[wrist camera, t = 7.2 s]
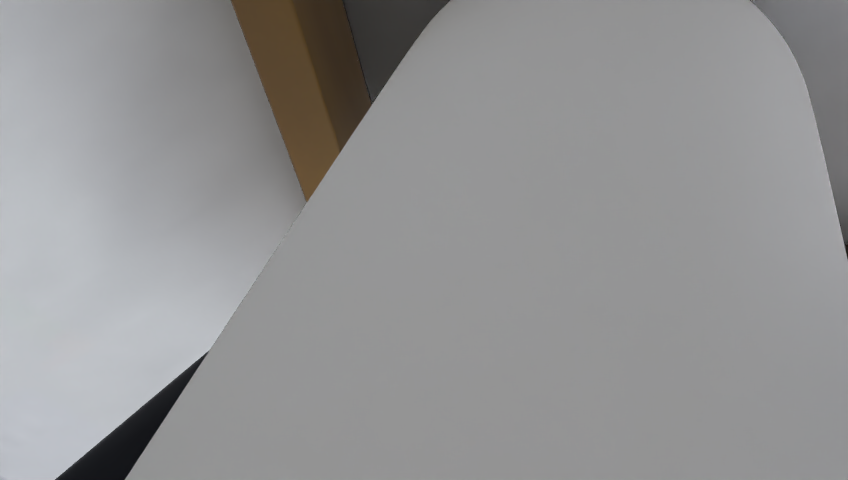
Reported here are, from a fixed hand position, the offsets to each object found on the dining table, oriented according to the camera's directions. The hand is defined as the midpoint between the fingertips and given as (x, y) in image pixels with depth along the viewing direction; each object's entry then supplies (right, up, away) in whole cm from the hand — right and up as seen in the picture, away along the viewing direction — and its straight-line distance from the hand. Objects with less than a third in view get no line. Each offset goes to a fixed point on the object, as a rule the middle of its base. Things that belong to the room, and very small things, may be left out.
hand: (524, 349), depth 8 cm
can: (+2, +3, +4) cm, 5 cm away
